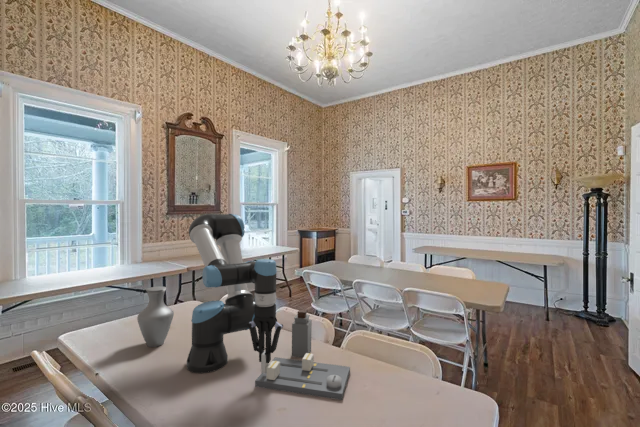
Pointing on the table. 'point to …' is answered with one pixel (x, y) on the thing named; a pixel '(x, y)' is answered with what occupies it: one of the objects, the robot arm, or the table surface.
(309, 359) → the fader far
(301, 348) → the perfume bottle
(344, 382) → the console
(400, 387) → the table surface
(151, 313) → the vase
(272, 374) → the fader near
